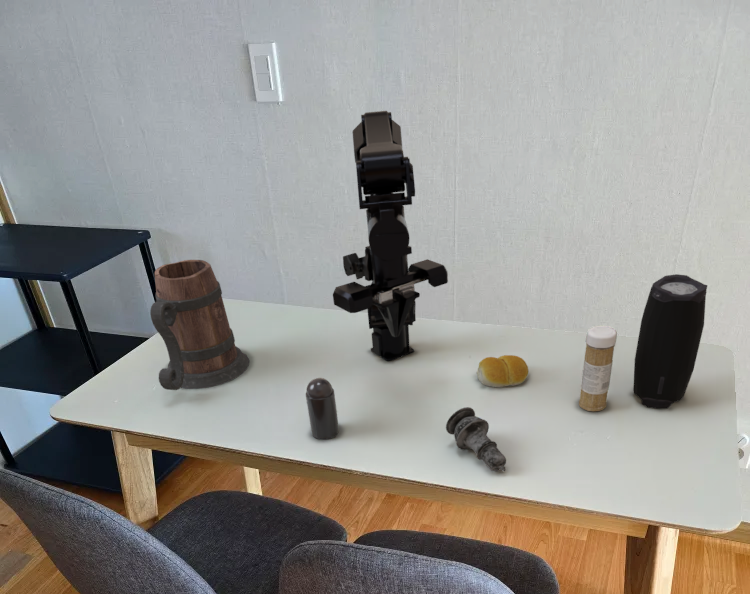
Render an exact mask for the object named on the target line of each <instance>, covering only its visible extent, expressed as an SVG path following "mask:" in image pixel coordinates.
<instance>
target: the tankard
mask: <svg viewBox="0 0 750 594" xmlns="http://www.w3.org/2000/svg"><path fill="white" fill-rule="evenodd" d="M154 280H155V281H154V282H155V291H156V292H155V294H154V295H155V301H154V302H152V304H151V306H150V312H149V313H150V320H151V323H152V325H153V327H154V329H155V330H156V331H157V333H158V334H159V336H160V337H161V338H162V340H163V342H164V344H165V347H166V351H167V353H168V358H169V362H168V363H167V368H161V370H159V373H158V382H159V384H160V386H161V387H162V388H163V389H164V390H167V391H168V390H169V391H179V390H180V389H195V390H197V389H206V388H211V387H215V386H219V385H220V386H221V385H224V384H225V383H228V382H231V381H233V380H234V379H237V378H238V377H240V376H241V375H243V374H244V373H245V372H246V371H247V370H248V368H249V366H250V363H251V362H250V358H249V356H248V355H247V354H246V353H244V352H243V351H242V350H241V348H239V347H238V346H236V344H235V343H236V339H235V335H234V332H233V329H232V328H231V326H230V322H229V319H228V314H227V311H226V307H225V304H224V300H223V296H222V295H223V290H222V288H221V283H220V282H219V281H218V280H217V278H216V275H215V272H214V270H213V268H212V266H211V264H210V263H209V262H208V261H206V260H205V259H204V260H202V259H184V260H180V261H177V262H171V263H166V264H162V265H160V266H158V267H157V268H156V269H155V271H154Z"/></svg>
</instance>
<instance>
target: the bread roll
mask: <svg viewBox="0 0 750 594" xmlns="http://www.w3.org/2000/svg"><path fill="white" fill-rule="evenodd" d="M476 375H477V378H478V380H479V382H480V383H481V384H482V385H484V386H487V387H493V388H503V387H508V386H518V385H521V384H522V383H524V382H525V380H526V379H527V377H528V375H529V366H528V364H527V362H526V361H525V360H524V359H523V358H522V357H520V356H518V355H513V354H512V355H511V354H509V355H508V354H505V355H501V356H499V357H495V356H488V357H485V358H483V359H482V360H480V362H479V364H478V367H477V371H476Z"/></svg>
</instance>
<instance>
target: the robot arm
mask: <svg viewBox="0 0 750 594" xmlns="http://www.w3.org/2000/svg"><path fill="white" fill-rule="evenodd" d="M360 117H361V118H360V119H361V122H359V124H358V125H357V126H355V127H354V129H353V130H352V133H351V134H352V143H353V155H354V156H353V157H354V163H355V169H356V170H355V171H356V183H357V193H358V206H359V207H358V208H359V210H365V213H366V224H367V225H366V226H367V236H368V237H367V238H368V245H367V246H365V249H364V256H361V257H359V256H358V254H357V252H352V253H349V254H346V255H344V256H342V264H343V270H344V273H345V275H346V276H347V277H350V276H353V275H355V278H356V280H360V279H363V278H364V280H365V281H367V282H371V281H372V282H371V283H370V284H368V285H362V284H360V283H358V282H356V281H352V282H349V283H345V284H342V285H341V284H340V285H339V286H336V287H335V288H334V290H333V293H332V300H333V305H334V306H336V307H338V308H340V309H342V310H344V311H345V312H348V313H349V314H357V313H359V312H363V311H366V310H367V319H368V327H369V328H368V329H369V330H372V332H371V344H372V347H371V348H370V352H371V353H373V354H374V355H376V356H378V357H379V358H381V359H383V360H384V361H385V362H391V361H394V360H397V359H399V358H403V357H405V356H408V355H411V354H413V353H415V349H414V348H413V347H412V346H410V328H409V327H410V326H414V324H413V323H415V322H416V321H417V320H416V318H417V317H416V307H417V306H416V299H418V298H420V295H421V293H420V292H418V291H416V290H415V289H416V287H415V285H416V284H419V283H422V282H425V281H427V283H428V284H429V285H430V286H431V287H433V288H437V287H440V286H443V285H446V284H448V283H449V272H448V270H447V268H446V266H445V265H444V264H441V263H439V262H436V261H433V260H431V259H424V260H421V261H417V262H414V263H411V264H410V265H409V261H408V259H409V258H408V255H411V254H413V251H412V250H413V249H412V246H411V245H410V232H409V228H408V224H407V221H406V216H405V215H406V214H405V206H412V205H413V197H416V184H415V175H414V165H413V163H412V162H411V161H410V158H409V156H404V155H405V154H404V149H403V139H402V127H401V125H400V124H398V123H397V122H396V121H394V120H393V116H392V112H391V111H388V110H380V111H367V112H364V113H363V114H361V115H360ZM405 191H406V193H405ZM363 195H364V199H363Z"/></svg>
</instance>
